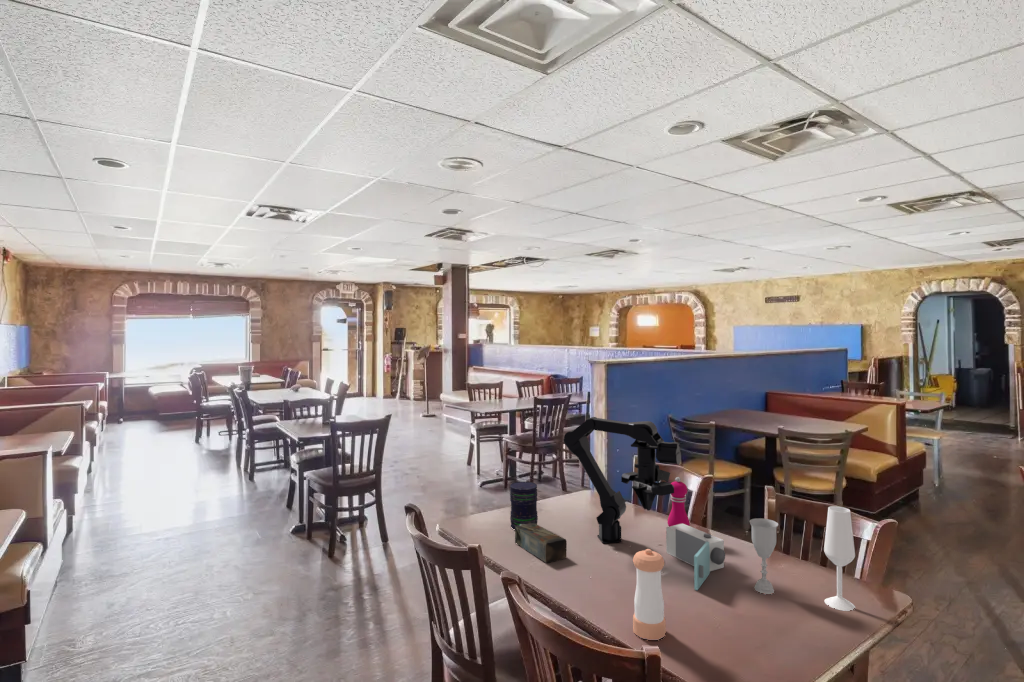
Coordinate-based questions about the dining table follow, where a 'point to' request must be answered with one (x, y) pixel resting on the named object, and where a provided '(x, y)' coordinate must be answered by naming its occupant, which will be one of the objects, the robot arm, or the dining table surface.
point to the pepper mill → (678, 504)
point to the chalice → (764, 548)
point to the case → (693, 545)
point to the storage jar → (523, 503)
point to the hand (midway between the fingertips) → (647, 509)
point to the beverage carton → (540, 542)
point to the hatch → (701, 566)
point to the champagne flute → (839, 550)
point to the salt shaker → (649, 596)
